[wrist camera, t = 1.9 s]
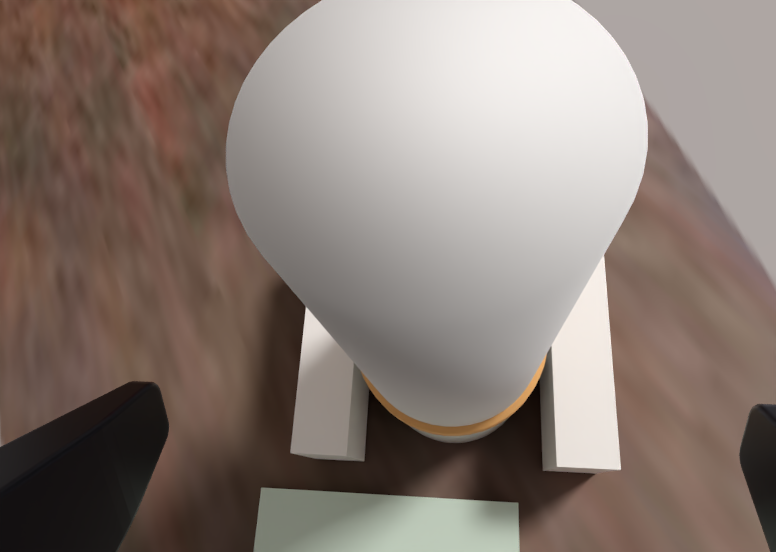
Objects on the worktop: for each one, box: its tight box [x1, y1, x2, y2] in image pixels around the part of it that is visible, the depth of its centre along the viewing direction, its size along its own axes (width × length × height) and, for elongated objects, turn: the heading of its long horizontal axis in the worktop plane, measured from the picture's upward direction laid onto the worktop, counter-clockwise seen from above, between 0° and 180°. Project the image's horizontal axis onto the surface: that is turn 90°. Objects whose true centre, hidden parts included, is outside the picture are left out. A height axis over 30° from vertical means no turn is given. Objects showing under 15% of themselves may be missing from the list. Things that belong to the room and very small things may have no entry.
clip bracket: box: [290, 255, 621, 474], centre depth 18 cm, size 8×9×3 cm
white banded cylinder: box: [226, 0, 648, 443], centre depth 13 cm, size 5×5×14 cm
